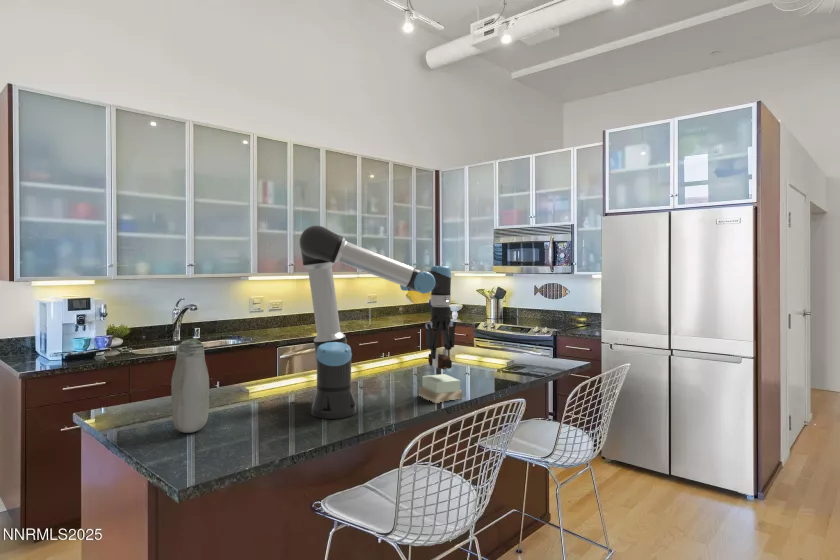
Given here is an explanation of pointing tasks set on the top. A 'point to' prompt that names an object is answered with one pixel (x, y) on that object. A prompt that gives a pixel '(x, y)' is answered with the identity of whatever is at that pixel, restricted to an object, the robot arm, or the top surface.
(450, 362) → the brick
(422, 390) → the base block
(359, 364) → the top surface
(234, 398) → the top surface
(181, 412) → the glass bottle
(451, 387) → the top block
